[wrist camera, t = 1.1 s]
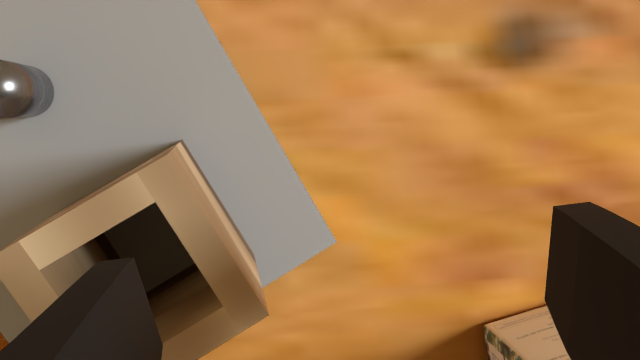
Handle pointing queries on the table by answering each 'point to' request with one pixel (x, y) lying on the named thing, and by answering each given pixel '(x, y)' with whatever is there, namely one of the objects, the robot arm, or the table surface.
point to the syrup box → (525, 337)
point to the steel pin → (23, 90)
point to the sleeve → (93, 246)
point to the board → (142, 133)
